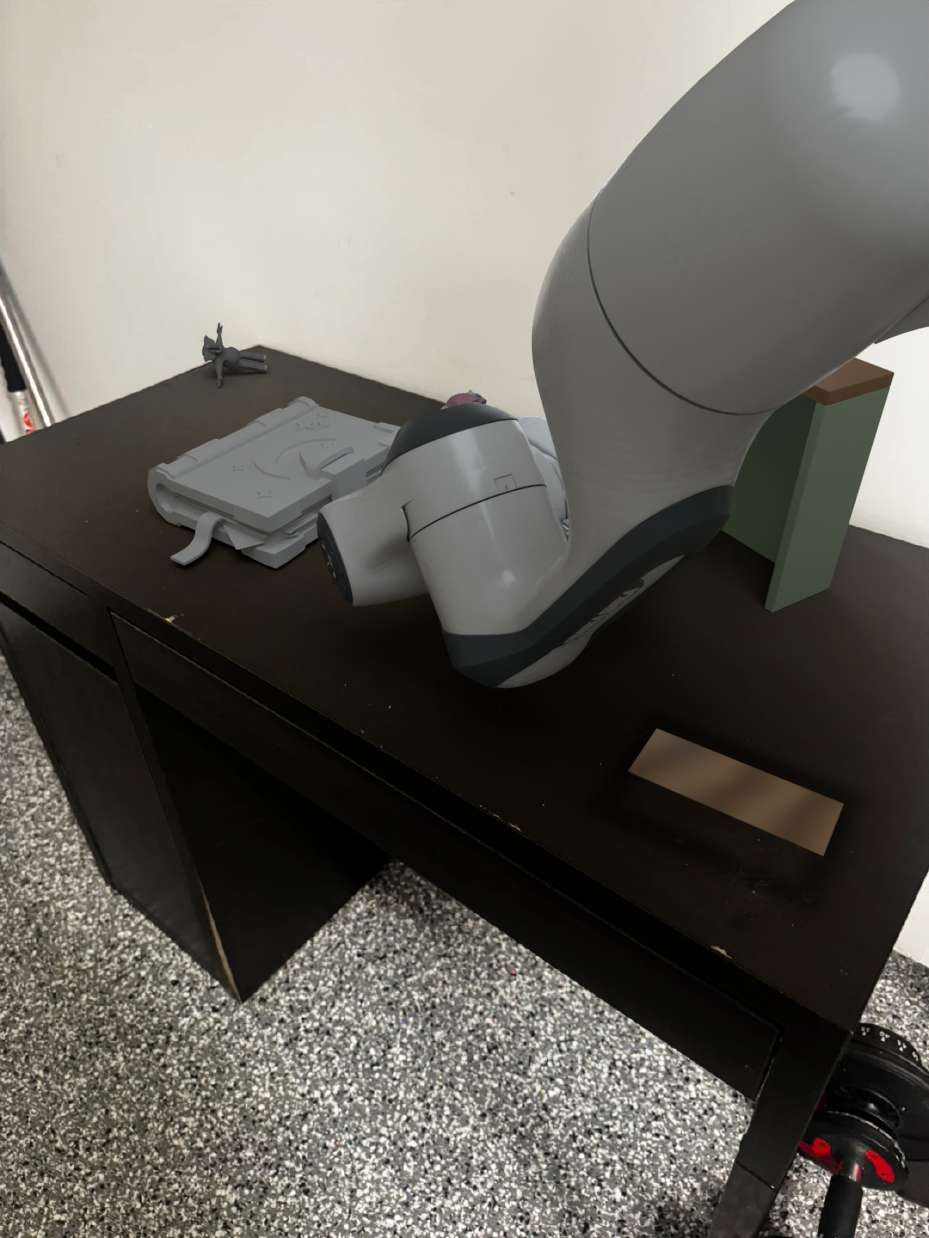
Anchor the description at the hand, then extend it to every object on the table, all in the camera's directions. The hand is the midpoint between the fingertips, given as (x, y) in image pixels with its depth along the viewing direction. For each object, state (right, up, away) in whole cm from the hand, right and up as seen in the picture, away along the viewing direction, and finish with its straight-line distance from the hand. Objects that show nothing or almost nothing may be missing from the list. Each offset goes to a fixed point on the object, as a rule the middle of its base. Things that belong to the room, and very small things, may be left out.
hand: (651, 462), depth 75 cm
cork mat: (+2, -27, -13) cm, 30 cm away
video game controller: (-18, +9, +35) cm, 40 cm away
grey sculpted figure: (-49, +21, +52) cm, 74 cm away
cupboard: (+11, -7, +14) cm, 19 cm away
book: (-36, -2, +21) cm, 42 cm away
